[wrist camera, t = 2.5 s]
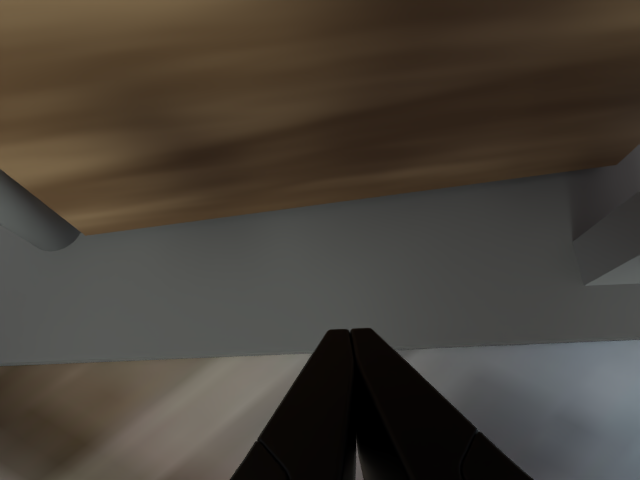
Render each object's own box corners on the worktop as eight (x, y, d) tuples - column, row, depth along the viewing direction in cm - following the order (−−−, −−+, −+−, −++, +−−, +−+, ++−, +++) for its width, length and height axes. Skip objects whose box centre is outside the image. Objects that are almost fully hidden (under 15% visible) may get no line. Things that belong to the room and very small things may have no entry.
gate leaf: (618, 170, 21) (1107, -263, 8) (85, 242, 20) (-376, -108, 7) (598, 123, 22) (999, -333, 9) (88, 189, 21) (-310, -204, 8)
